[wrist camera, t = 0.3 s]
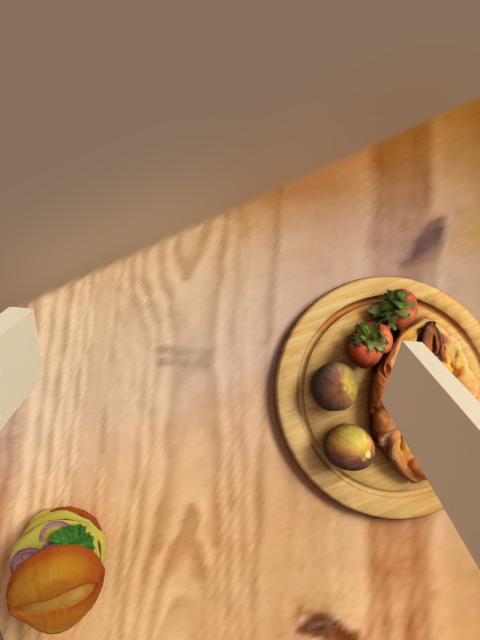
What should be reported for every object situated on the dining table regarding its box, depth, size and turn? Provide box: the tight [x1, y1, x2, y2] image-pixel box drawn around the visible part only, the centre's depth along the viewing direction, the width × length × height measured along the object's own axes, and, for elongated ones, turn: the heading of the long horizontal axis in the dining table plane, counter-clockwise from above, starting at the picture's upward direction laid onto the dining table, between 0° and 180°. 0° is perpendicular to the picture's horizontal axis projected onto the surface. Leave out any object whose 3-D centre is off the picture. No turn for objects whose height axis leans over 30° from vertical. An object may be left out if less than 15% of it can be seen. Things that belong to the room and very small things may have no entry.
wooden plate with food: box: [274, 276, 480, 519], centre depth 45 cm, size 32×32×8 cm
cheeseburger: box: [6, 507, 107, 634], centre depth 39 cm, size 10×11×10 cm
